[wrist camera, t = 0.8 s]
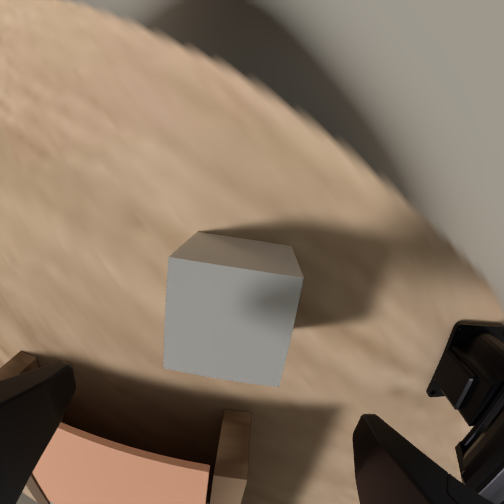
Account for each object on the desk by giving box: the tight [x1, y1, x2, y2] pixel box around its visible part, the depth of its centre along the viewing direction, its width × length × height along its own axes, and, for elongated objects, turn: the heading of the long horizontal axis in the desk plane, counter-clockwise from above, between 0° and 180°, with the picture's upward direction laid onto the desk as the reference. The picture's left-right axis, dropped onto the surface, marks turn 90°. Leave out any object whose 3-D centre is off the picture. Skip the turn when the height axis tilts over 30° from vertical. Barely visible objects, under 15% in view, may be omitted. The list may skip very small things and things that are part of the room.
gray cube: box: [164, 232, 304, 387], centre depth 16 cm, size 6×6×6 cm
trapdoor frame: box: [0, 351, 251, 504], centre depth 21 cm, size 21×25×6 cm
